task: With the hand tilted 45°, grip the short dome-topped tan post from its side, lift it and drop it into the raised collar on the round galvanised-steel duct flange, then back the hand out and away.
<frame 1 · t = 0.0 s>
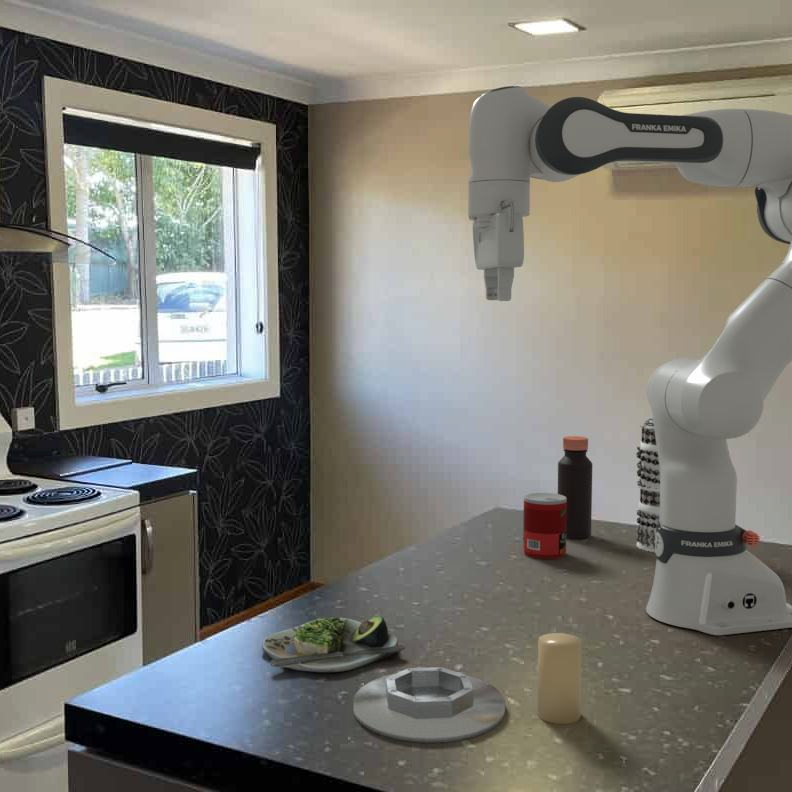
hand: (498, 300, 142), 48 cm above the kitchen island, tool pointing down, fingers open, 8 cm apart
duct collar: (429, 708, 117), on the kitchen island
salad plate: (334, 653, 136), on the kitchen island
bottle: (573, 536, 198), on the kitchen island
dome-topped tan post: (558, 714, 115), on the kitchen island
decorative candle: (658, 548, 189), on the kitchen island
canned food: (544, 555, 184), on the kitchen island
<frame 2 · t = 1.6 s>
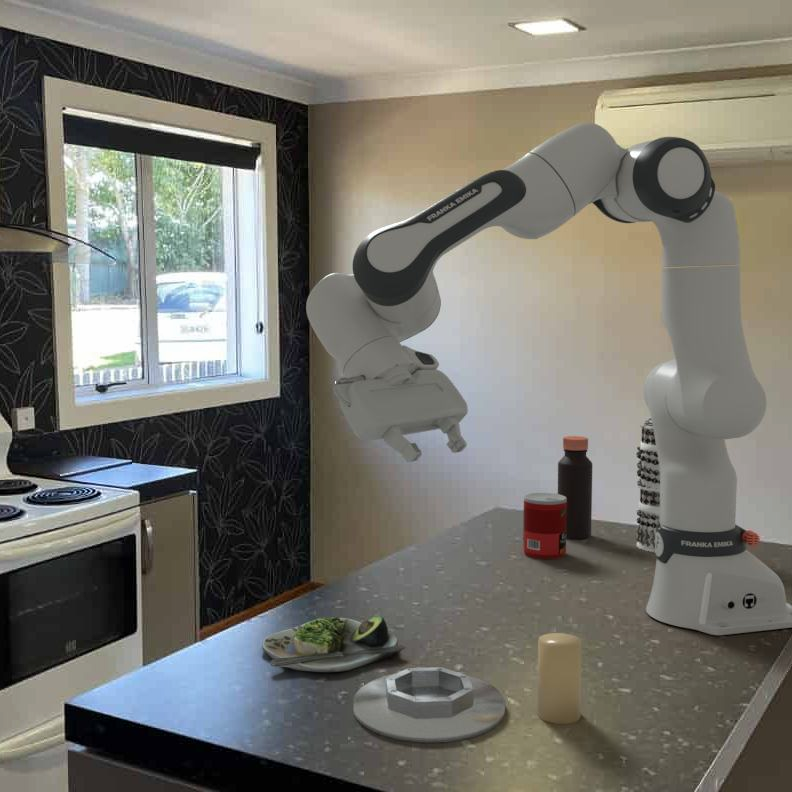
hand: (438, 454, 127), 28 cm above the kitchen island, tool tilted 45°, fingers open, 8 cm apart
nothing on the kitchen island moved.
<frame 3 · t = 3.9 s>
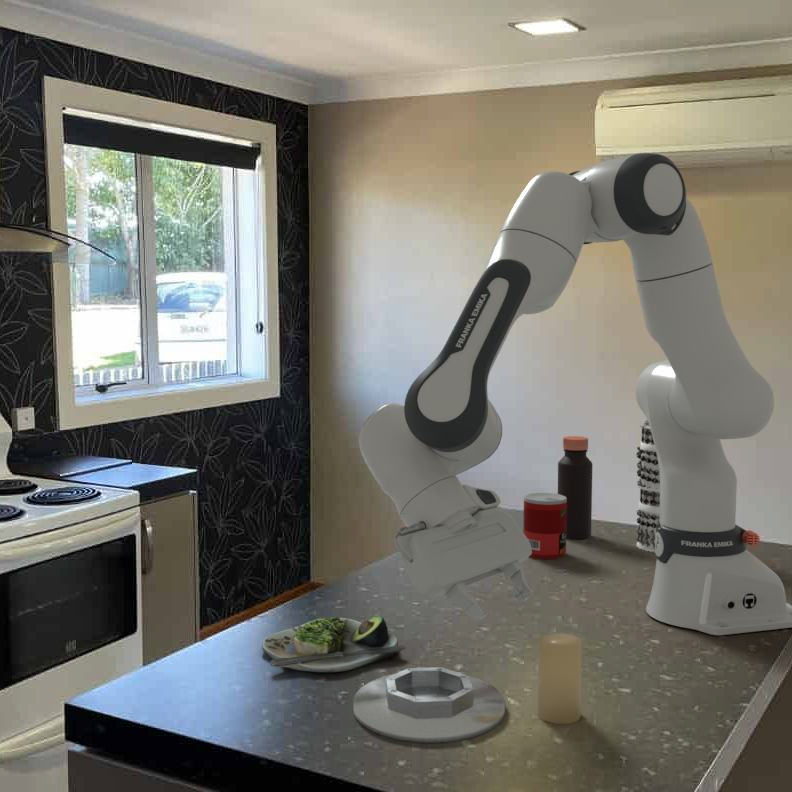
hand: (505, 607, 118), 11 cm above the kitchen island, tool tilted 45°, fingers open, 8 cm apart
nothing on the kitchen island moved.
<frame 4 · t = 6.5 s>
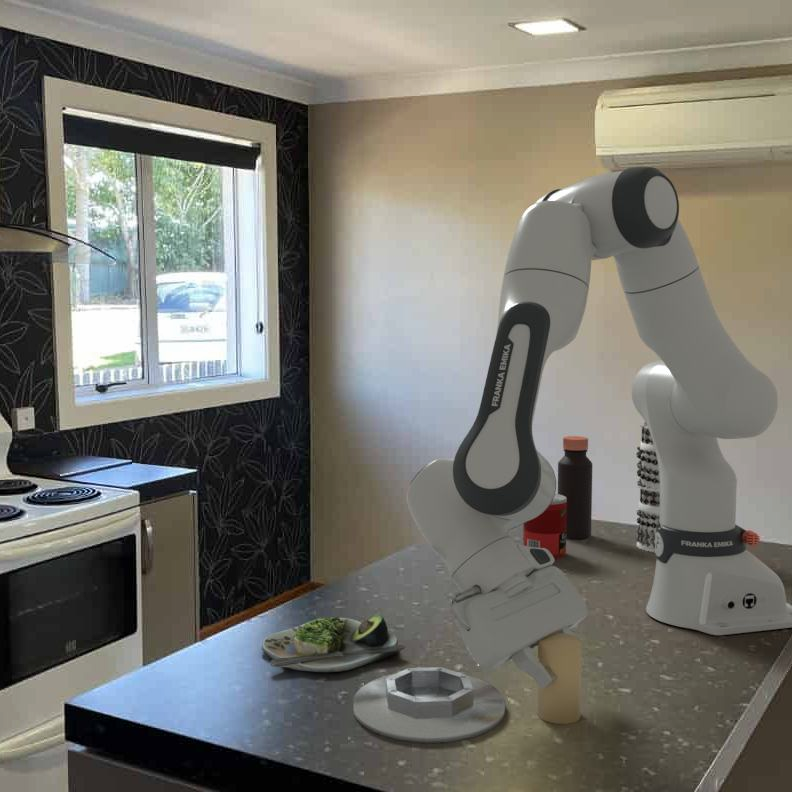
hand: (564, 675, 114), 5 cm above the kitchen island, tool tilted 45°, fingers closed on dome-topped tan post, 5 cm apart
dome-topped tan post: (558, 714, 115), on the kitchen island, touching gripper
everything else where it was.
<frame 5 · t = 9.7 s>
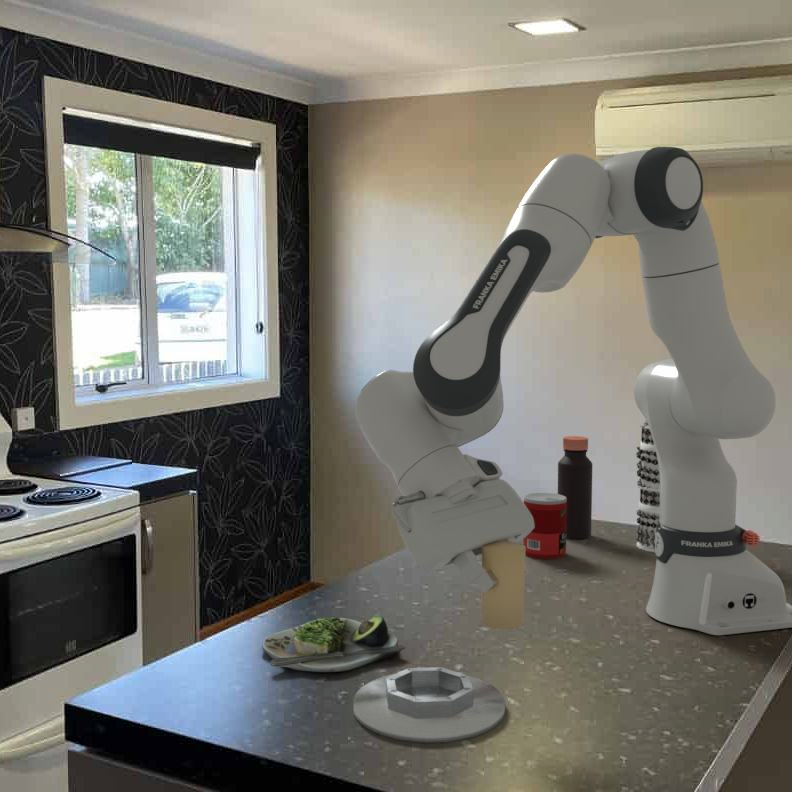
hand: (507, 582, 113), 16 cm above the kitchen island, tool tilted 45°, fingers closed on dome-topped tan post, 5 cm apart
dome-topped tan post: (502, 621, 114), point 11 cm above the kitchen island, touching gripper
everything else where it was.
when the fingers open (7 cm above the kitchen island, at t = 13.2 s): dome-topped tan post stays where it is, resting on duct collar.
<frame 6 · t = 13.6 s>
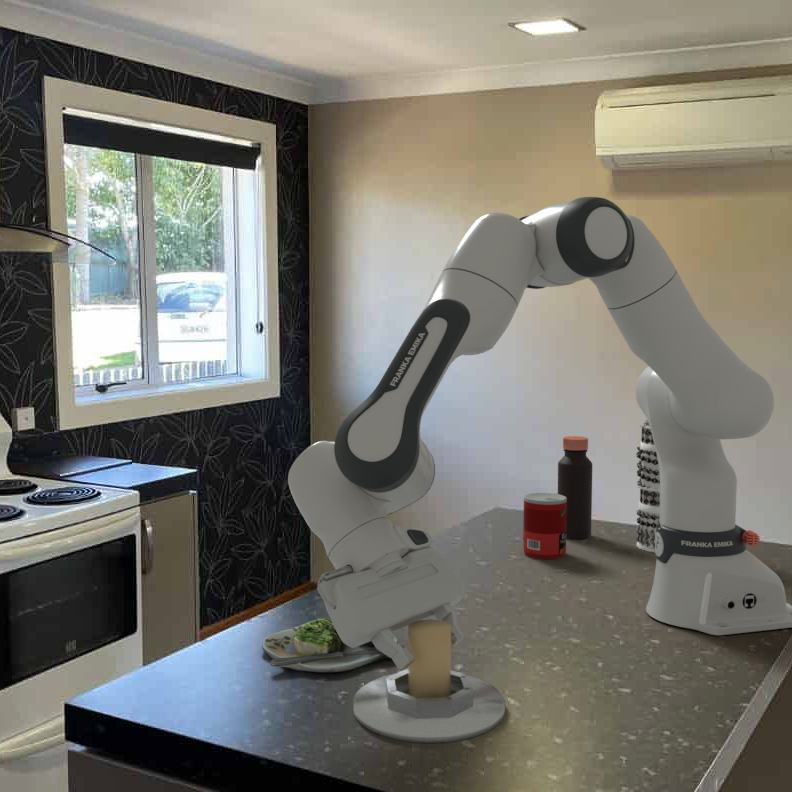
hand: (433, 653, 115), 7 cm above the kitchen island, tool tilted 45°, fingers open, 8 cm apart
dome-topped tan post: (429, 699, 116), point 1 cm above the kitchen island, touching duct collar
everything else where it was.
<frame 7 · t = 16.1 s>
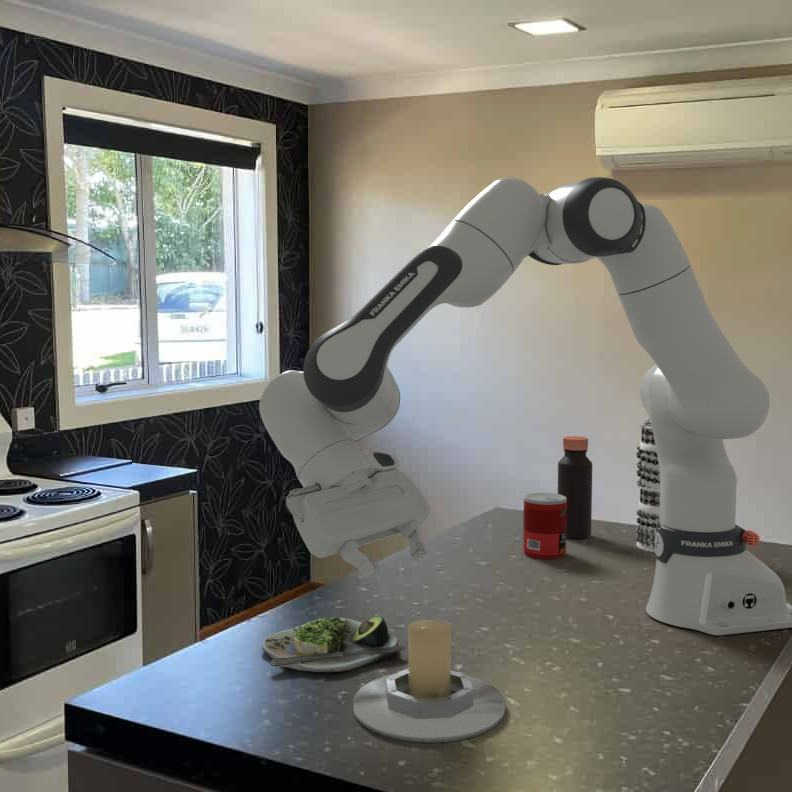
hand: (398, 565, 121), 16 cm above the kitchen island, tool tilted 45°, fingers open, 8 cm apart
nothing on the kitchen island moved.
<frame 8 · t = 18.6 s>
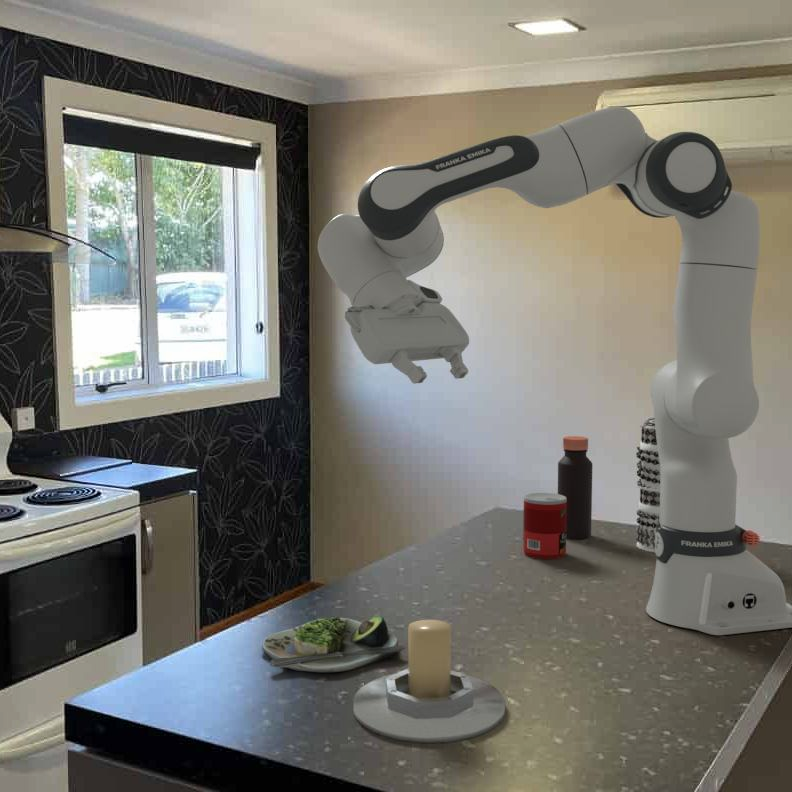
hand: (442, 378, 136), 37 cm above the kitchen island, tool tilted 45°, fingers open, 8 cm apart
nothing on the kitchen island moved.
at the end: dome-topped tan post 0.1 cm off-centre on the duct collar, point 1.0 cm above the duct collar's base; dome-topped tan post tilted 0°; the gripper is holding nothing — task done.
